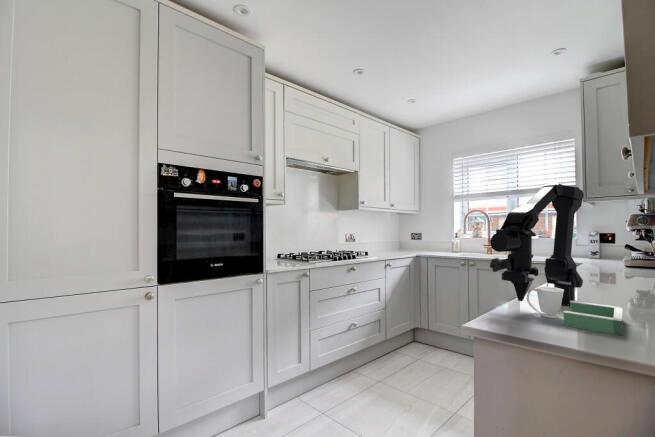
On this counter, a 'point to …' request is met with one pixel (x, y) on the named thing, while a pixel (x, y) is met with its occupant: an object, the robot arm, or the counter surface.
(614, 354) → the counter surface
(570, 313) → the pocket
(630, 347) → the counter surface
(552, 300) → the cup
